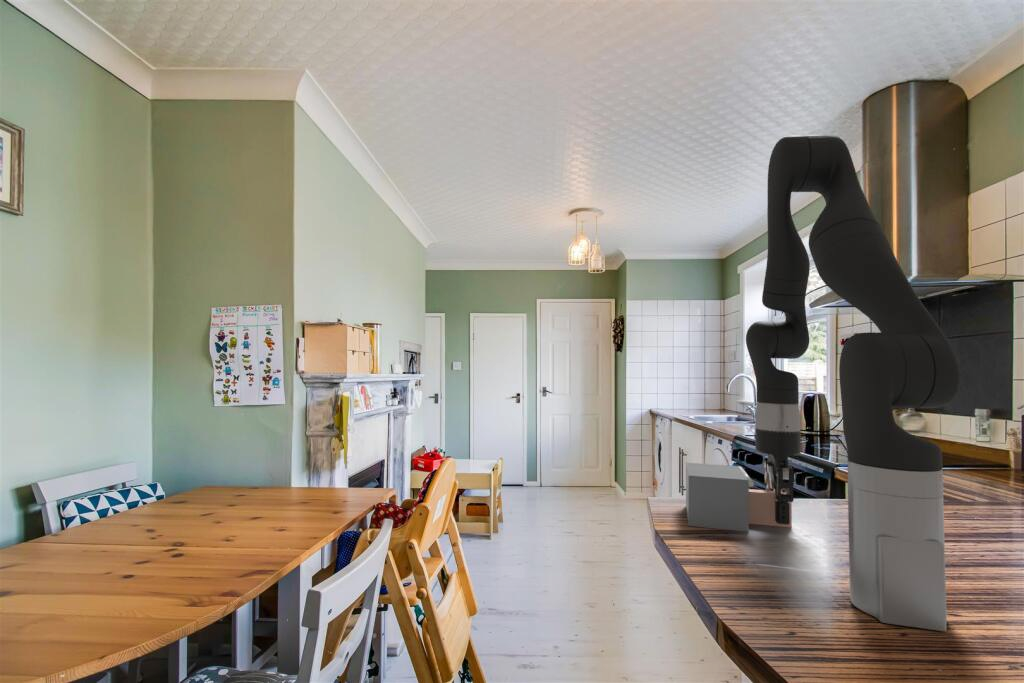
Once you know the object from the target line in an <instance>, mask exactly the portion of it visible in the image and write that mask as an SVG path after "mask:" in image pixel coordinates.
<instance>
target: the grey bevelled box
mask: <svg viewBox="0 0 1024 683" xmlns="http://www.w3.org/2000/svg"><path fill="white" fill-rule="evenodd" d="M754 486H755V482H754V481H753V479H752V478H751V477H750V475H748V473H747V471H745V469H744V468H743V467H742V466H740V465H739V466H738V465H725V464H709V463H699V462H698V463H697V462H696V463H694V462H685V508H686V509H685V510H686V517H687V523H688V524H687V525H688V526H690V527H699V528H707V529H716V530H717V529H718V530H725V531H726V530H727V531H737V532H746V533H749V529H750V528H749V527H750V523H749V489H750V488H753V487H754Z"/></svg>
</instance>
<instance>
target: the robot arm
mask: <svg viewBox="0 0 1024 683" xmlns="http://www.w3.org/2000/svg"><path fill="white" fill-rule="evenodd" d="M767 169H768V170H767V256H766V268H765V275H764V281H763V290H762V295H761V296H762V297H761V302H762V305H763V306H764V307H765V308H767V309H769V310H774V311H778V312H781V313H784V316H785V320H784V321H775V320H774V321H770V320H769V321H768V320H767V321H766V320H763V321H762V320H761V321H760V320H759V321H755V322H753V323H752V324H751V325H750V327H749V328H748V330H747V332H746V334H745V344H746V348H747V352H748V355H749V358H750V361H751V364H752V367H753V368H752V369H753V371H754V376H755V380H756V382H755V383H756V406H755V407H756V408H755V416H754V417H755V418H754V420H755V425H754V427H755V433H754V434H755V439H754V440H755V441H754V442H755V446H754V448H755V451H756V452H758V453H761V454H764V455H765V456H764V457H763V462H764V464H763V467H764V485H763V486H764V487H765V490H767V491H774V500H775V521H776V522H777V523H778V524H786V525H787V524H789V523H790V514H789V503H791V504H792V503H793V502H794V499H795V497H794V485H795V484H794V480H795V479H794V474H795V470H794V468H793V467H792V464H791V465H790V464H789V457H790V456H791V457H794V456H796V457H797V456H799V455H800V454H801V452H802V450H801V449H802V446H801V442H802V441H801V440H802V439H801V438H802V437H801V429H802V428H801V426H802V425H801V413H800V412H801V411H800V404H799V401H800V400H799V395H800V394H799V391H800V390H799V379H798V375H796V374H795V373H793V372H791V371H785V370H781V369H778V368H777V367H776V366H775V365H774V363H773V360H772V359H789V360H792V359H793V360H794V359H799V358H801V357H803V355H805V353H806V352H807V351H808V348H809V345H810V332H809V327H808V321H807V312H806V311H807V310H806V296H807V295H806V293H807V290H808V282H809V277H810V269H811V268H810V267H811V266H810V258H809V254H808V251H807V248H806V246H805V245H804V242H803V240H802V238H801V236H800V234H799V232H798V230H797V228H796V225H795V222H794V220H793V216H792V210H791V198H792V193H818V194H820V195H821V196H822V197H823V199H824V201H825V206H824V208H823V210H822V211H821V213H820V214H819V215H818V217H817V219H816V220H815V222H814V224H813V226H812V228H811V230H810V233H809V236H808V247H809V252H810V255H811V257H812V261H813V262H814V265H815V269H816V271H817V274H818V275H819V277H820V279H821V281H822V282H823V283H824V284H825V286H827V287H828V288H829V289H830V290H831V291H832V292H833V293H835V294H836V295H838V297H840V298H841V299H842V300H844V301H846V302H847V303H849V305H851V306H852V307H853V308H855V309H857V310H858V311H859V312H861V313H862V314H863V315H864V316H866V317H867V318H868V319H869V320H870V321H872V323H873V324H874V325H875V326H876V327H877V329H878V330H879V332H858V333H855V334H853V335H851V336H850V337H849V338H847V339H846V341H845V343H843V344H844V345H843V346H842V349H841V352H840V356H839V366H838V370H839V388H840V397H841V398H840V399H841V400H840V401H841V412H842V429H843V436H844V441H845V444H846V450H847V451H846V452H847V499H848V500H847V504H848V505H847V508H848V509H847V510H848V511H847V512H848V513H847V515H848V516H847V517H848V518H847V519H848V522H847V523H848V568H849V572H848V573H849V574H848V575H849V601H850V602H851V604H852V605H853V606H854V607H856V608H857V609H859V610H860V611H862V612H864V613H865V614H867V615H870V616H873V617H874V618H876V619H878V621H880V623H884V624H889V625H890V624H891V625H895V626H896V625H897V626H902V627H903V626H904V627H912V628H918V629H925V630H932V631H933V630H934V631H939V632H947V620H948V619H947V617H948V615H947V589H946V588H947V586H946V554H945V552H946V551H945V549H946V548H945V547H946V546H945V520H944V518H945V517H944V513H945V512H944V511H945V509H944V479H943V478H944V472H943V471H944V470H943V468H944V467H943V466H944V465H943V452H942V449H941V447H940V445H938V444H937V443H935V442H933V441H931V440H928V439H925V438H921V437H919V436H916V435H914V434H912V433H910V432H908V431H906V430H905V429H903V428H902V427H900V426H899V425H898V424H897V422H896V421H895V417H894V413H893V409H935V408H936V409H937V408H943V407H945V406H948V405H949V404H951V403H952V402H953V401H955V399H956V398H957V397H958V395H959V392H960V389H961V385H962V373H961V372H962V371H961V368H960V364H959V360H958V357H957V355H956V353H955V350H954V348H953V346H952V344H951V343H950V341H949V339H948V338H947V336H946V335H945V334H944V332H943V331H942V329H941V328H940V326H939V324H938V323H937V322H936V321H935V319H934V317H933V316H932V315H931V314H930V312H929V310H928V309H927V308H926V307H925V305H924V304H923V302H922V301H921V298H919V296H918V295H917V294H916V292H915V290H914V288H913V286H912V284H911V283H910V281H909V280H908V278H907V276H906V275H905V273H904V271H903V269H902V267H901V265H900V263H899V262H898V260H897V258H896V255H895V253H894V251H893V249H892V246H891V244H890V242H889V240H888V238H887V236H886V233H885V232H884V230H883V228H882V226H881V224H880V223H879V221H878V220H877V218H876V216H875V215H874V212H873V210H872V208H871V206H870V204H869V202H868V200H867V198H866V195H865V194H864V191H863V188H862V187H861V184H860V182H859V178H858V174H857V171H856V167H855V165H854V162H853V158H852V155H851V153H850V150H849V148H848V146H847V144H846V142H845V141H844V139H842V138H841V137H839V136H836V135H831V134H809V135H808V134H807V135H806V134H804V135H803V134H800V135H785V136H782V137H781V138H780V139H779V140H778V141H776V143H775V145H774V147H773V148H772V151H771V154H770V157H769V162H768V168H767ZM781 492H786V494H781Z"/></svg>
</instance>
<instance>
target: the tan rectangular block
mask: <svg viewBox="0 0 1024 683" xmlns="http://www.w3.org/2000/svg"><path fill="white" fill-rule="evenodd" d="M748 489H749V525H750V524H751V525H760V526H761V525H762V526H771V527H773V526H774V527H781V528H791V529H792V526H793V525H792V524H793V523H792V519H793V518H792V517H793V516H792V510H793V509H792V502H791V503H789V514H790V523H789V524H787V525H786V524H778V523H777V522H776V521H775V500H774V491H767V490H766V489H754V488H753V489H751V488H748ZM781 494H786V491H782V492H781Z"/></svg>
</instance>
